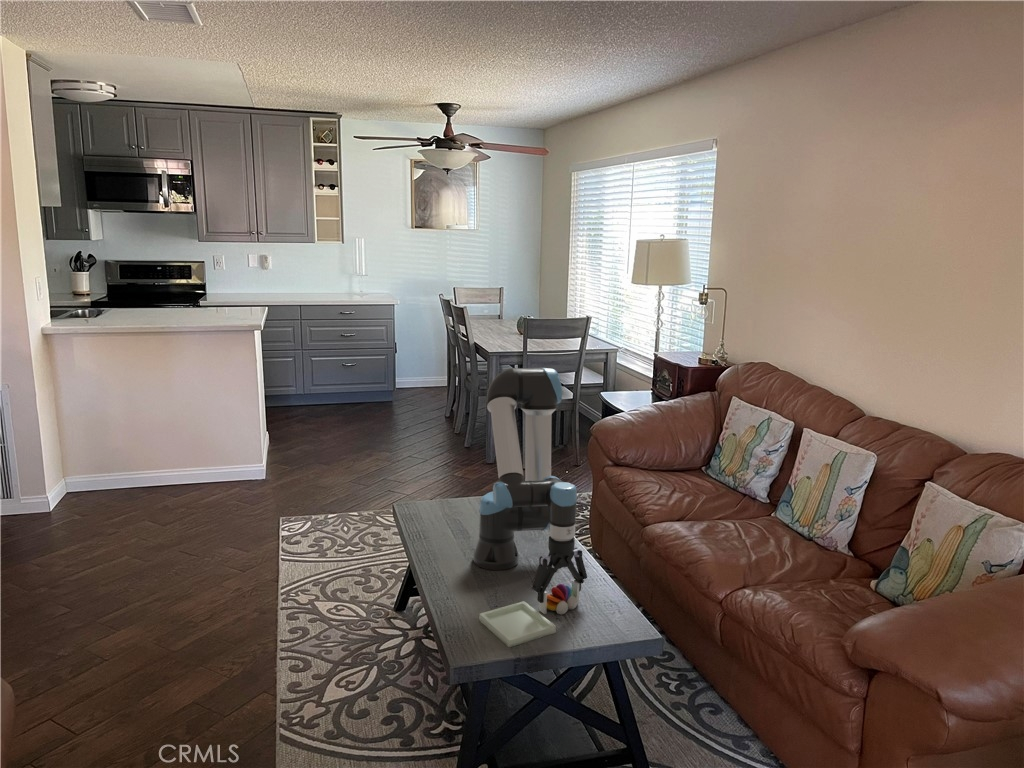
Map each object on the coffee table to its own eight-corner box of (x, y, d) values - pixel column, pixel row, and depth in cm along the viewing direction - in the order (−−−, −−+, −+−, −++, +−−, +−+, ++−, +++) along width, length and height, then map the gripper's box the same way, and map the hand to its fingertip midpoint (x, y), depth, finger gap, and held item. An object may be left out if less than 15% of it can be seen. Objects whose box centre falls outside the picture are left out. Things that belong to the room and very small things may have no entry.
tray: (479, 620, 204) (479, 613, 204) (523, 607, 212) (524, 601, 212) (509, 647, 191) (509, 640, 191) (555, 632, 199) (555, 625, 199)
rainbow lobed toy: (537, 608, 213) (538, 585, 211) (559, 597, 219) (560, 575, 218) (559, 619, 207) (560, 595, 205) (581, 607, 213) (582, 584, 212)
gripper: (535, 549, 199) (532, 622, 204) (601, 533, 212) (598, 602, 216) (520, 539, 206) (518, 611, 210) (586, 524, 218) (582, 592, 222)
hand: (558, 606), depth 213 cm, fingers open, 11 cm apart
